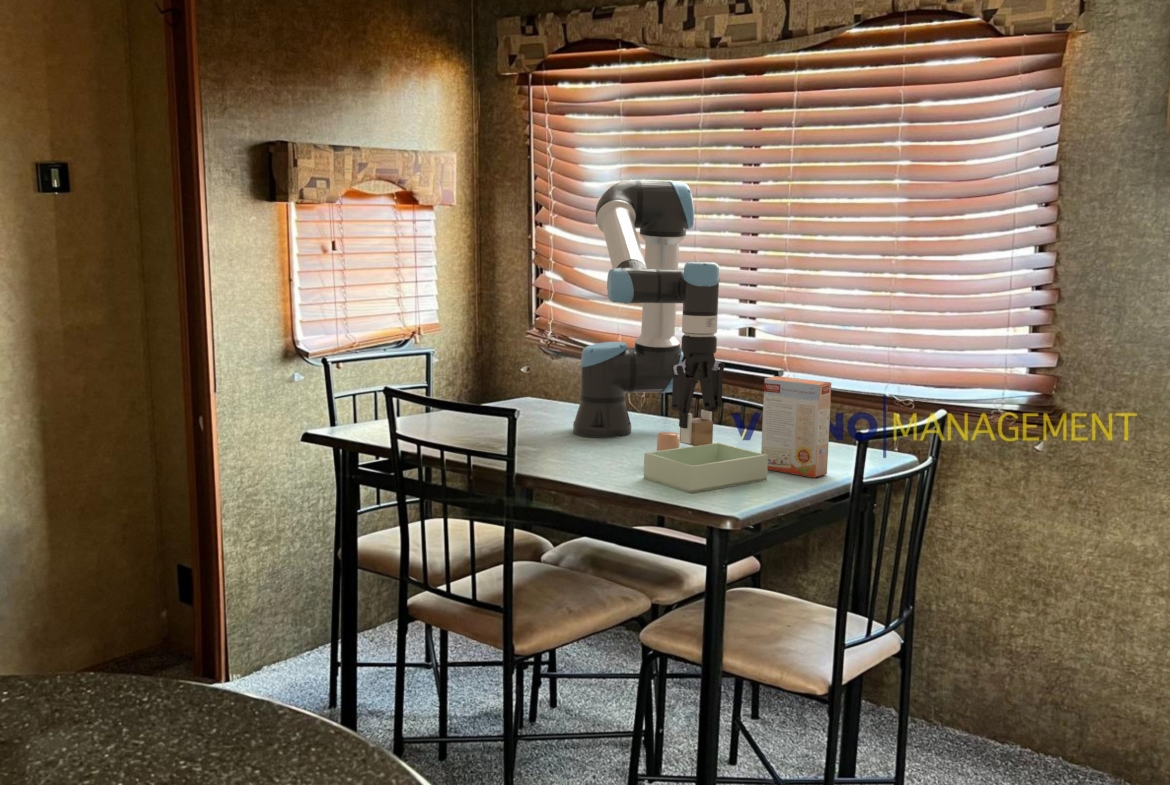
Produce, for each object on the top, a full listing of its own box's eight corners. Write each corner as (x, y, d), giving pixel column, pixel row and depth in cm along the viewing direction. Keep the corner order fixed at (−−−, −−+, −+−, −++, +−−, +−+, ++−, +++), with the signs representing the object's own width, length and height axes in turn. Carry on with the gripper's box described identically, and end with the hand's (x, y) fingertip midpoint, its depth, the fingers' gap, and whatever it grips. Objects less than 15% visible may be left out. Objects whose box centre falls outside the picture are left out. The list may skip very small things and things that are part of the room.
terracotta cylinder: (652, 463, 257) (653, 433, 256) (669, 460, 260) (670, 430, 259) (666, 467, 253) (667, 436, 252) (683, 464, 256) (684, 434, 255)
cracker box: (828, 474, 248) (833, 381, 245) (814, 479, 244) (819, 384, 241) (773, 464, 257) (777, 374, 254) (759, 468, 253) (763, 377, 250)
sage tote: (643, 478, 242) (644, 452, 241) (717, 466, 254) (718, 442, 253) (691, 493, 229) (692, 466, 228) (766, 480, 242) (767, 455, 241)
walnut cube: (679, 442, 244) (680, 419, 243) (697, 440, 247) (697, 417, 246) (694, 446, 240) (695, 423, 239) (712, 443, 243) (713, 421, 242)
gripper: (678, 338, 231) (675, 448, 235) (742, 334, 242) (738, 440, 245) (655, 334, 237) (652, 442, 241) (718, 331, 248) (714, 434, 251)
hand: (695, 441), depth 243 cm, fingers closed on walnut cube, 5 cm apart
